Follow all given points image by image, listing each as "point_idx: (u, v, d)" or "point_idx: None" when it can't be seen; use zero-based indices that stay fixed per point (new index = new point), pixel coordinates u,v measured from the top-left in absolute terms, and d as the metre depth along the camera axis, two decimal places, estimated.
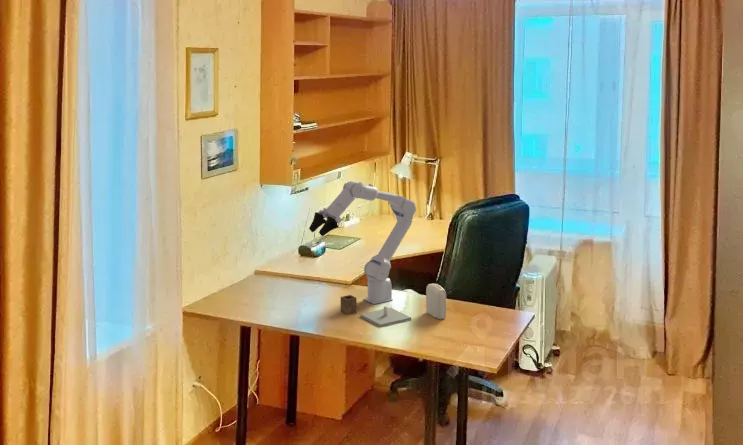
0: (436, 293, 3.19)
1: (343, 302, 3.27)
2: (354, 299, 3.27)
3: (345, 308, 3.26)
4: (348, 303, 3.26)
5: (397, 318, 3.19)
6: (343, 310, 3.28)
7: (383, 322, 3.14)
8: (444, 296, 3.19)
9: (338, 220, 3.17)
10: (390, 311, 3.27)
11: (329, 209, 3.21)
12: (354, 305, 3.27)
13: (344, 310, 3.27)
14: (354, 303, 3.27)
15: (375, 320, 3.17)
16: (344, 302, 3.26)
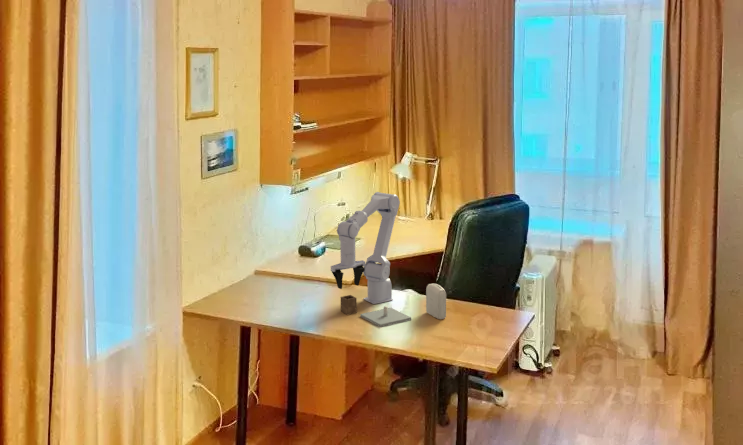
0: (436, 293, 3.19)
1: (343, 302, 3.27)
2: (354, 299, 3.27)
3: (345, 308, 3.26)
4: (348, 303, 3.26)
5: (397, 318, 3.19)
6: (343, 310, 3.28)
7: (383, 322, 3.14)
8: (444, 296, 3.19)
9: None
10: (390, 311, 3.27)
11: (353, 263, 3.23)
12: (354, 305, 3.27)
13: (344, 310, 3.27)
14: (354, 303, 3.27)
15: (375, 320, 3.17)
16: (344, 302, 3.26)
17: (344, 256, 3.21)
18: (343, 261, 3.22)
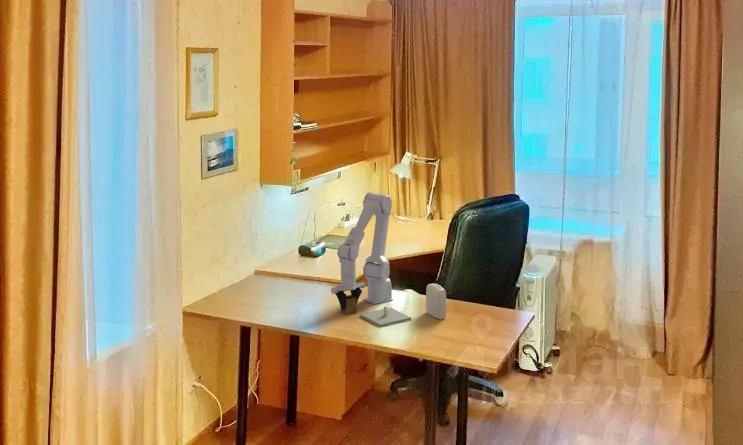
0: (436, 293, 3.19)
1: None
2: (354, 299, 3.27)
3: (345, 308, 3.26)
4: (348, 303, 3.26)
5: (397, 318, 3.19)
6: (343, 310, 3.28)
7: (383, 322, 3.14)
8: (444, 296, 3.19)
9: None
10: (390, 311, 3.27)
11: (354, 285, 3.25)
12: (354, 305, 3.27)
13: (344, 310, 3.27)
14: (354, 303, 3.27)
15: (375, 320, 3.17)
16: None
17: (344, 278, 3.23)
18: (343, 283, 3.24)
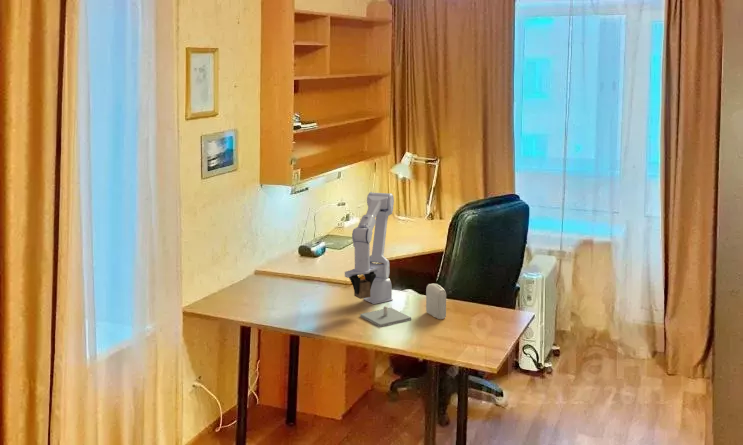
0: (436, 293, 3.19)
1: None
2: (368, 283, 3.22)
3: (359, 292, 3.22)
4: (362, 287, 3.21)
5: (397, 318, 3.19)
6: (357, 294, 3.24)
7: (383, 322, 3.14)
8: (444, 296, 3.19)
9: None
10: (390, 311, 3.27)
11: (367, 269, 3.21)
12: (368, 289, 3.23)
13: (358, 294, 3.23)
14: (368, 287, 3.23)
15: (375, 320, 3.17)
16: None
17: (358, 262, 3.19)
18: (357, 267, 3.20)
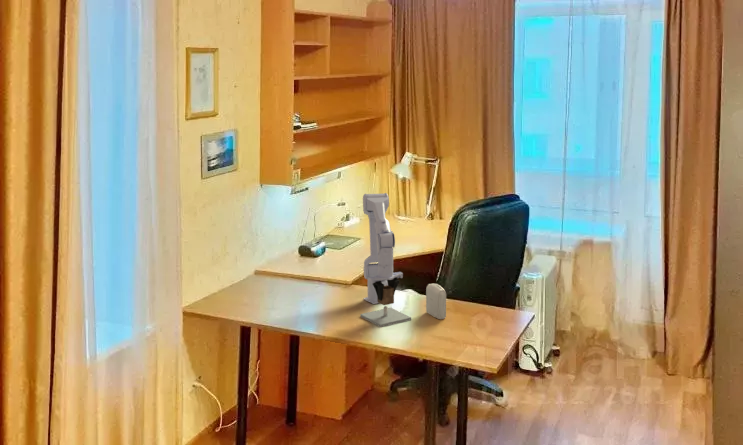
0: (436, 293, 3.19)
1: None
2: (391, 289, 3.18)
3: None
4: (386, 293, 3.17)
5: (397, 318, 3.19)
6: (380, 301, 3.19)
7: (383, 322, 3.14)
8: (444, 296, 3.19)
9: None
10: (390, 311, 3.27)
11: (391, 275, 3.16)
12: (391, 295, 3.19)
13: (381, 301, 3.19)
14: (391, 293, 3.19)
15: (375, 320, 3.17)
16: None
17: (382, 268, 3.15)
18: (381, 273, 3.16)
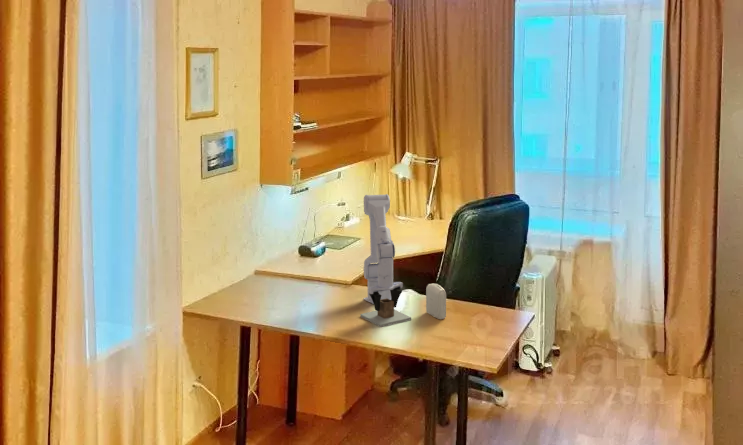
0: (436, 293, 3.19)
1: (380, 306, 3.20)
2: (392, 302, 3.19)
3: (382, 312, 3.19)
4: (386, 306, 3.18)
5: (397, 318, 3.19)
6: (380, 314, 3.20)
7: (383, 322, 3.14)
8: (444, 296, 3.19)
9: None
10: None
11: (391, 285, 3.17)
12: (391, 309, 3.20)
13: (381, 314, 3.20)
14: (391, 307, 3.20)
15: (375, 320, 3.17)
16: (381, 306, 3.19)
17: (382, 278, 3.16)
18: (381, 283, 3.16)
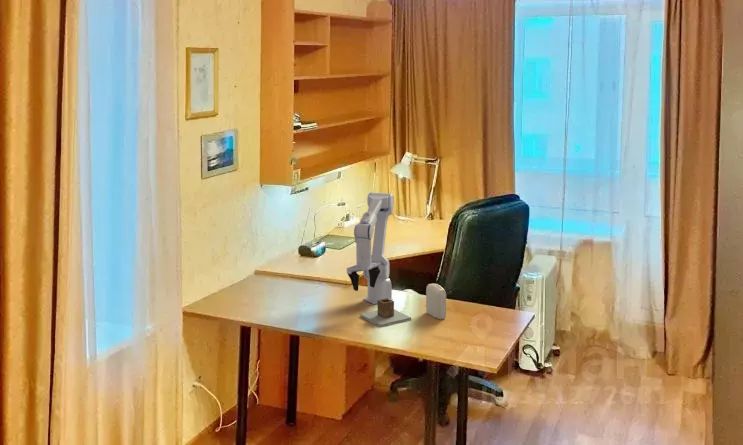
0: (436, 293, 3.19)
1: (380, 306, 3.20)
2: (392, 302, 3.19)
3: (382, 312, 3.19)
4: (386, 306, 3.18)
5: (397, 318, 3.19)
6: (380, 314, 3.20)
7: (383, 322, 3.14)
8: (444, 296, 3.19)
9: None
10: None
11: (369, 265, 3.21)
12: (391, 309, 3.20)
13: (381, 314, 3.20)
14: (391, 307, 3.20)
15: (375, 320, 3.17)
16: (381, 306, 3.19)
17: (360, 258, 3.19)
18: (359, 263, 3.20)
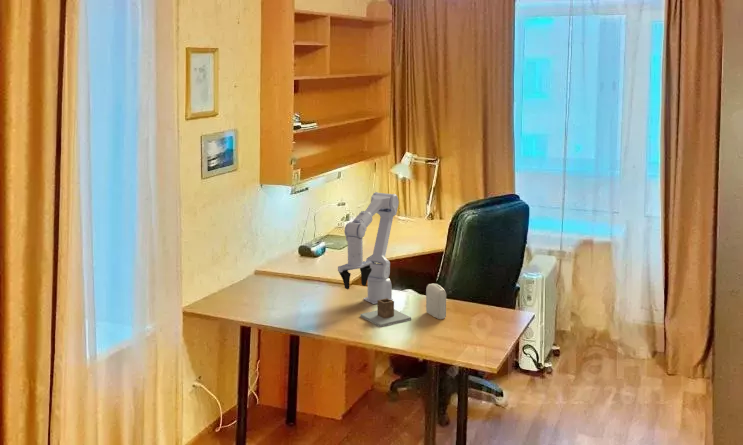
0: (436, 293, 3.19)
1: (380, 306, 3.20)
2: (392, 302, 3.19)
3: (382, 312, 3.19)
4: (386, 306, 3.18)
5: (397, 318, 3.19)
6: (380, 314, 3.20)
7: (383, 322, 3.14)
8: (444, 296, 3.19)
9: None
10: None
11: (361, 263, 3.22)
12: (391, 309, 3.20)
13: (381, 314, 3.20)
14: (391, 307, 3.20)
15: (375, 320, 3.17)
16: (381, 306, 3.19)
17: (351, 256, 3.21)
18: (350, 261, 3.22)
